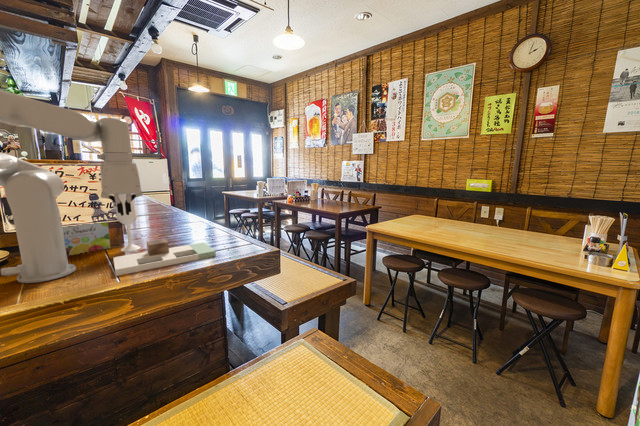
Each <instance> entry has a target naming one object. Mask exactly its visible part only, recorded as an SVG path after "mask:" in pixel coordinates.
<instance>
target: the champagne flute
mask: <svg viewBox="0 0 640 426" xmlns="http://www.w3.org/2000/svg"><path fill="white" fill-rule="evenodd" d="M131 195H132V194H131ZM119 199H120V201H121V203H122V205H123V213H124V215H122V216H121V214H120V213H118V210H117V203H116V204H115V205H116V206H115V207H116V209H115V210H116V212H115V213H116V221H118V222H119V223H121V224H122V225H124V226H126V234H127V243H128V244H127V245H126V246H124V247H123V248H121V249H120V251H121V252H131V251H137V250H139V249H141V248H142V247H141V246H139V245H137V244H134V243H133V241H132V240H133V239H132V230H131V225H132V224H133V223H134V222H136V220H137V218H138V213H137V209H136V204H135V199H133V200H132V201H131V203H130V204H131V212H129V215H126V210H125V201H126V194H119Z"/></svg>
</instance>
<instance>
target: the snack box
mask: <svg viewBox="0 0 640 426" xmlns="http://www.w3.org/2000/svg"><path fill="white" fill-rule="evenodd" d="M62 228H63V234H64V241H65V247H66V253H67V257H70V255H71V256H76V255H79V254H80V253H82V254H86V253H85V252H87V253H90V251H92V252H97V250H98V251H102V250H107V249H111V239H110V232H109V231H110V229H109V223H94V224H82V225H77V226H68V227H62ZM75 254H76V255H75ZM80 255H81V254H80Z"/></svg>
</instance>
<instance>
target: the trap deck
mask: <svg viewBox="0 0 640 426" xmlns="http://www.w3.org/2000/svg"><path fill="white" fill-rule="evenodd" d="M216 256H217V254H216V250H215V249H213V247H211V246H210V245H208V244H207V243H205V242H198V243H192V244H187V245H181V246H175V247H174V246H173V247H169V253H165V254H159V255H153V256H149V254H148V251H143V252H138V253H132V254H126V255H119V256H115V257H114V256H113V257H112V258H113V265H114V272H115V276H116V277H117V276H123V275H128V274H132V273H138V272H142V271H143V272H144V271H148V270H152V269H153V270H154V269H157V268H162V267H163V268H164V267H167V266H173V265H178V264H182V263H187V262H193V261H196V260H197V261H198V260H202V259H207V258H212V257H216Z"/></svg>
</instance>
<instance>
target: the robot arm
mask: <svg viewBox="0 0 640 426" xmlns="http://www.w3.org/2000/svg"><path fill="white" fill-rule="evenodd" d="M0 123H3V124H6V125H10V126H15V127H17V128H18V127H20V128H22V127H23V128H30V129H34V130H37V131H43V132H46V133H47V132H48V133H50V134H55V135H58V136H63V137H66V138H70V139H73V140H78V141H81V142H86V143H94V142H100V143H101V151H102V152H101V153H100V154H97V155H96V156H97V160H102V161H103V162H101V163H100V171H99V173H100V185H101V193H100V198H102V199H109V200H111V201H113V202H114V203H117V210H118V213H120V214H121V216H122V215H124V213H123V205H122V203H121V201H120V199H119V194H126V201H125V210H126V215H129V212H131V204H130V203H131V201H132V200H133V199H134V200H135V199H136V198H139V197H142V196H143V195H144V193H143V191H142V188H141V186H142V185H141V181H140V173H139V170H138V165H137V164H136V163H135V162H133V161H134V160H133V152H132V144H131V143H132V142H131V134H130V125H129V122H127V121H126V119H122V118H117V117H116V118H115V117H102V118H100V119H98V118H92V117H89V116H88V115H87V114H85V113H81V112H80V111H76V110H72V109H68V108H66V107H63V106H59V105H55V104H52V103H48V102H45V101H42V100H41V101H40V100H37V99H33V98H30V97H28V96H24V95H21V94H18V93H14V92H10V91H6V90H3V89H0ZM0 186H1V187H2V188H3V189H4V191H3V192H4V194H5V195H4V196H5V198H6V200H7V203H8V206H9V209H10V211H11V215H12V219H13V224H14V228H15V233H16V238H17V242H18V248H19V253H20V258H21V263H20V264H17V265H16V266H12V267H11V266H10V267H4V268H1V269H0V275H1V276H5V277H8V276H9V277H10V276H13V275H17V276H16V280H17V282H18V283H22V284H33V283H36V284H37V283H43V282H47V281H52V280H56V279H59V278H63V277H66V276H68V275H71V274H72V273H74V272H76V270H77V267H76V265H75V264H72V263H69V260H68V259H69V258H68V256H67V253H66V247H65V241H64V234H63V228H62V223H61V217H60V215H61V213H60V209H59V206H58V202H57V197H59V196H60V195H61V194H63V192H64V189H65V183H64V181H63V179H62V178H61V177H60V176H59V175H58V174H57V173H55V172H52V171H51V170H50V169H49V170H48V169H46V168H43V167H41V166H39V165H36V164H34V163H32V162H28V161H27V160H23V159H21V158H19V157H16V156H14V155H10V154H8V153H4V152H0ZM131 194H132V195H131Z"/></svg>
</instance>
